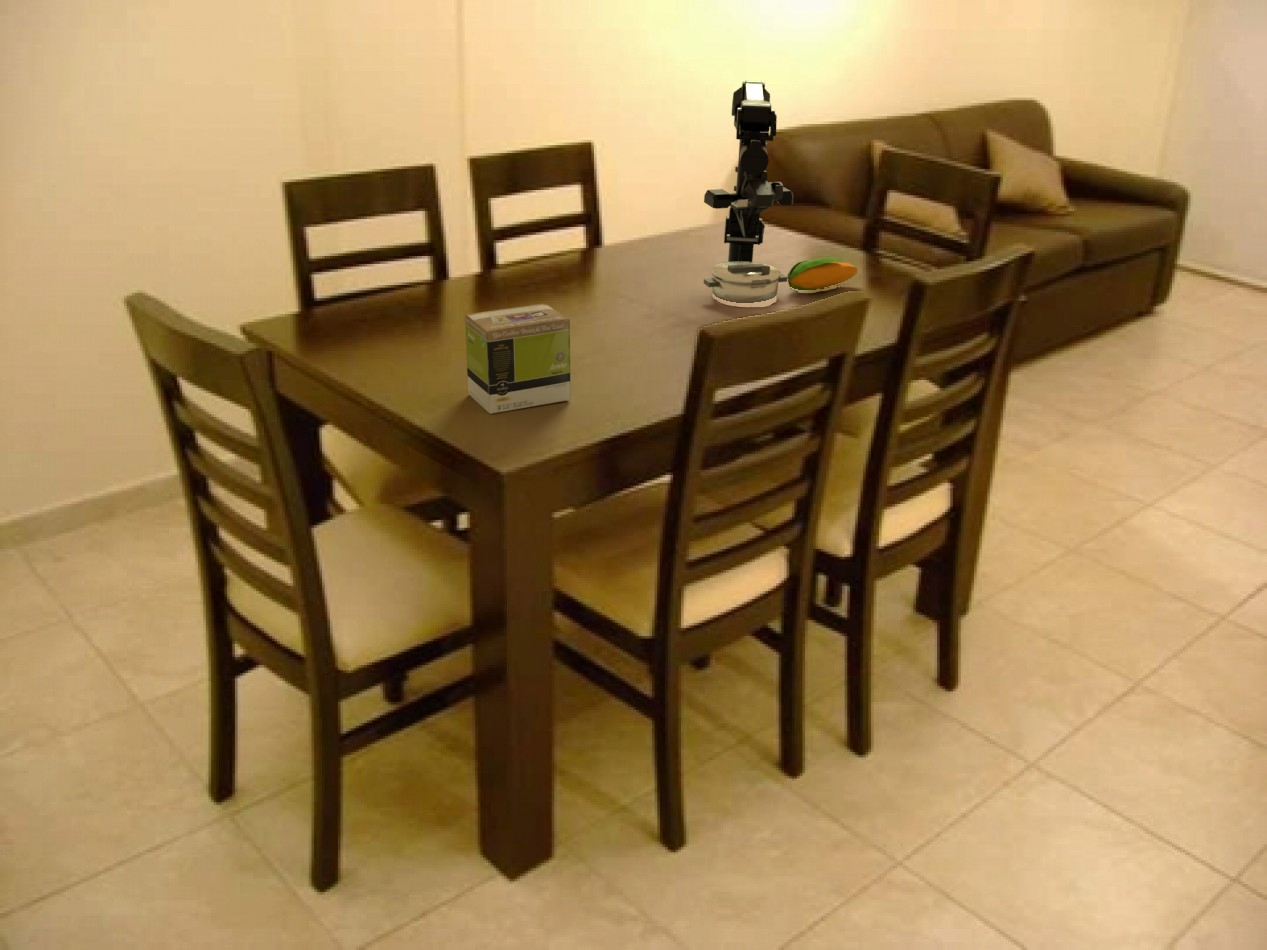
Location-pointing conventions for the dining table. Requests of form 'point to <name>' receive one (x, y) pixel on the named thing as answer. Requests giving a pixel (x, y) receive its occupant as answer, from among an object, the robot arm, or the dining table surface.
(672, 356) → the dining table surface
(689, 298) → the dining table surface
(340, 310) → the dining table surface
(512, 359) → the tea box
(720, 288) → the pot
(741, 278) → the lid
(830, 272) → the corn
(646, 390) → the dining table surface
